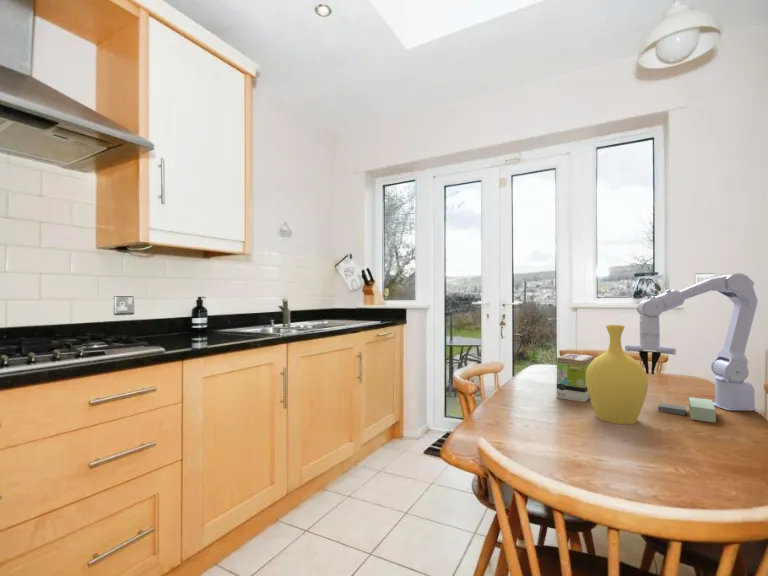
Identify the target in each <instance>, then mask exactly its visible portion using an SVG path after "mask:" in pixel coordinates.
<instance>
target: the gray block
mask: <svg viewBox="0 0 768 576" xmlns="http://www.w3.org/2000/svg"><path fill="white" fill-rule="evenodd" d="M686 407H687V406H684V405H679V404H678V405H676V404H669V403H664V402H658V406H657V410H658V412H660V411H663V412H662V413H667V412H668V414H675V415H681V416H686V415H687V409H686Z"/></svg>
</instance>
